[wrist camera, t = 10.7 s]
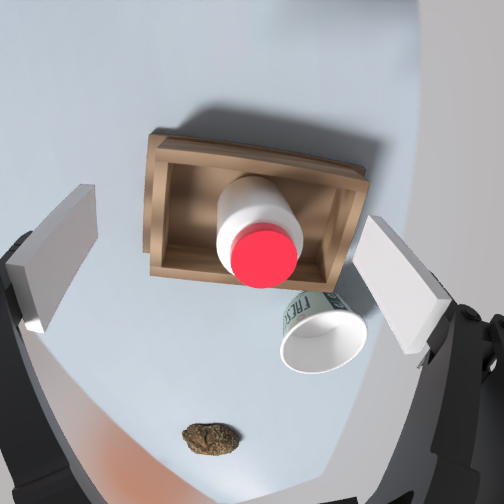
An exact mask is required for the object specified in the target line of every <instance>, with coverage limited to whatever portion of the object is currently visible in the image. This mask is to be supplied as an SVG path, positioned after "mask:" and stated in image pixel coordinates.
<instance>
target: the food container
mask: <svg viewBox="0 0 504 504" xmlns="http://www.w3.org/2000/svg"><path fill="white" fill-rule="evenodd" d="M367 336H368V328H367V325H366V323H365V321H364V320H363V318H362V317H361V316H359V315H358V314H356V313H354V312H353V311H352V310H351V308H350V307H349V306H348V305H347V304H346V303H345V301H344V300H343V299H342V298H341V297H340V296H339V295H338V294H337V293H336V292H334V291H333V293H330V292H316V291H306V292H304V293H302V294H300V295H298V296H297V297H295V298H294V299H293V300H292V301H291V302H290V303H289V304H288V306H287V307H286V309H285V311H284V315H283V341H282V344H281V348H280V354H281V358H282V360H283V362H284V363H285V364H286V365H287V366H288V367H289V368H291V369H292V370H295V371H297V372H301V373H307V374H317V373H323V372H328V371H331V370H334V369H336V368H339V367H341V366H343V365H344V364H346V363H348V362H349V361H350V360H352V359H353V358H354V357H355V356H356V355H357V354H358V353H359V352H360V351H361V349H362V348H363V346H364V345H365V342H366V340H367Z"/></svg>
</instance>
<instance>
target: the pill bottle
mask: <svg viewBox="0 0 504 504" xmlns="http://www.w3.org/2000/svg"><path fill="white" fill-rule="evenodd" d="M216 246H217V253H218V256H219V259H220V261H221V263H222V264H223V266H224V267H225V268H226V269H227V270H228V271H229V272H230V273H232V274H233V275H234V276H235V277H236V278H237V279H238V280H239V281H240V282H242V283H243V284H245V285H247V286H250V287H253V288H270V287H274V286H276V285H279V284H281V283H282V282H284V281H285V280H286V279H287V278H289V277H290V275H291V274H292V273H293V271H294V269H295V267H296V264H297V261H298V259H299V257H300V255H301V252H302V248H303V233H302V229H301V227H300V224H299V222H298V220H297V218H296V216H295V214H294V213H293V211H292V209H291V207H290V205H289V203H288V201H287V199H286V198H285V196H284V194H283V192H282V191H281V189H280V188H279V187H278V186H277V185H276V184H275V183H274V182H272V181H270V180H269V179H266V178H263V177H259V176H246V177H242V178H239V179H237V180H235V181H233V182H232V183H230V184H229V185H228V186H227V187H226V188H225V189H224V190H223V192H222V193H221V195H220V197H219V200H218V203H217V224H216Z"/></svg>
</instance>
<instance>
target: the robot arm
mask: <svg viewBox="0 0 504 504" xmlns="http://www.w3.org/2000/svg"><path fill="white" fill-rule="evenodd" d="M97 238H98V231H97V217H96V199H95V185H89V184H80V185H79V186H78V187H77V188H76V189H75V190H74V191H73V192H72V193H70V194H69V195H68V196H67V197H66V198H65V199H64V200H63V201H62V202H61V203H60V204H59V205H58V206H57V207H56V208H55V209H54V210H53V211H52V212H51V213H50V214H49V215H48V216H47V217H46V218H45V219H44V220H43V222H42V223H41V224H40V225H39V226H38V227H37V228H36V229H35V230H34V231H29V232H27V233H26V234H24V235H22V236H21V237H20V238H19V239H18V240H17V241H16V242H15V243H14V245H12V246H11V248H10V249H9V251H7V252H6V253H5V254H4V255H3V257H2V258H1V259H0V449H1V452H2V454H3V457H4V460H5V462H6V465H7V466H8V469H9V472H10V474H11V476H12V479H13V482H14V486H15V487H14V489H13V490H12V495H13V499H14V502H15V504H107V502H106V501H105V500H104V498H103V497H102V496H101V494H100V493H99V492H98V490H97V489H96V487H95V486H94V484H93V483H92V481H91V480H90V478H89V477H88V475H87V473H86V472H85V470H84V469H83V467H82V465H81V464H80V462H79V460H78V459H77V457H76V455H75V454H74V452H73V450H72V448H71V447H70V445H69V443H68V441H67V439H66V438H65V436H64V434H63V432H62V430H61V428H60V426H59V424H58V423H57V421H56V418H55V416H54V414H53V412H52V410H51V408H50V406H49V404H48V401H47V399H46V397H45V395H44V393H43V390H42V388H41V386H40V383H39V381H38V378H37V376H36V373H35V371H34V368H33V366H32V363H31V360H30V358H29V356H28V352H27V349H26V347H25V344H24V341H23V338H22V335H21V332H20V329H19V327H18V324H19V322H20V321H21V319H22V317H23V320H24V323H25V325H26V328H27V329H28V330H31V331H35V332H40V333H45V332H46V329H47V327H48V325H49V323H50V321H51V319H52V317H53V315H54V313H55V312H56V310H57V308H58V306H59V304H60V302H61V300H62V298H63V296H64V295H65V293H66V291H67V289H68V287H69V285H70V284H71V282H72V280H73V278H74V277H75V275H76V273H77V271H78V270H79V268H80V266H81V264H82V263H83V261H84V259H85V258H86V256H87V254H88V253H89V251H90V249H91V248H92V246H93V245H94V243H95V241H96V240H97ZM352 262H353V263H354V265H355V267H356V268H357V270H358V272H359V273H360V275H361V277H362V278H363V280H364V282H365V283H366V285H367V287H368V289H369V290H370V292H371V294H372V295H373V297H374V299H375V301H376V302H377V304H378V306H379V308H380V309H381V311H382V313H383V315H384V317H385V318H386V320H387V322H388V324H389V326H390V328H391V329H392V331H393V333H394V335H395V337H396V339H397V341H398V342H399V344H400V346H401V348H402V350H403V352H404V354H413V353H419V352H420V351H421V349H422V348H423V346H424V345H425V343H426V342H427V343H428V345H429V347H430V349H429V351H428V352H427V354H426V355H425V357H424V358H423V359H422V361H421V362H420V364H419V365H418V367H417V368H418V369H419V368H420V367H421V366H423V367H422V371H421V375H420V378H419V382H418V385H417V388H416V391H415V395H414V398H413V401H412V404H411V407H410V410H409V413H408V416H407V419H406V422H405V424H404V427H403V430H402V432H401V435H400V438H399V441H398V443H397V446H396V448H395V450H394V453H393V456H392V458H391V460H390V462H389V465H388V467H387V469H386V471H385V474H384V476H383V478H382V480H381V483H380V484H379V486H378V488H377V490H376V491H375V493H374V494H373V495H372V496H371V497H370V498H369V499H368V501H367V502H366V503H365V504H504V316H502V315H500V314H495V315H494V317H493V318H492V320H491V321H490V323H487V322H484V321H482V319H481V317H480V315H479V314H478V313H477V312H476V311H475V310H474V309H472V308H471V307H469V306H467V305H464V304H459V305H457V303H456V302H455V301H454V299H453V298H452V297H451V295H450V294H449V293H448V292H447V290H446V289H445V288H443V285H442V284H441V283H440V282H438V279H437V278H436V277H435V276H434V274H433V273H431V272H430V271H429V270H428V269H427V268H426V267H425V266H424V264H423V263H422V262H421V261H420V260H419V258H418V257H417V256H416V255H415V254H414V253H413V251H412V250H411V249H410V248H409V247H408V246H407V245H406V244H405V242H404V241H403V240H402V239H401V238H400V237H399V236H398V235H397V234H396V232H395V231H394V230H393V229H392V228H391V227H390V226H389V225H388V224H387V223H386V222H385V221H384V219H383V218H382V217H379V216H373V215H368V217H367V220H366V223H365V226H364V229H363V232H362V235H361V238H360V241H359V243H358V246H357V249H356V252H355V255H354V258H353V260H352ZM496 359H497V362H496V366H495V368H494V370H493V371H491V370H490V366H491V365H492V364H493V362H494V361H495V360H496ZM320 504H358V502H357V497H352V498H348V499H343V500H338V501H332V502H327V503H320Z"/></svg>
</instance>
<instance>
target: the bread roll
mask: <svg viewBox="0 0 504 504" xmlns="http://www.w3.org/2000/svg"><path fill="white" fill-rule="evenodd" d="M182 436H183V440H185V441H186V442H187V445H188V447H189V448H190V449H191V450H192V451H193V452H195V453H196V454H204V455H213V456H219V455H222V454H227V453H231V452H232V451H234V450H235V449H236V448H237V447H238V445H239V438H238V436H237V435H236V434H235V432H234V431H232V430H230V429H228V428H227V427H226V426H224V425H220V424H215V425H208V426H203V425H200V424H192V425H190V426H189V427H188V428H187V430H186V431H183V432H182Z"/></svg>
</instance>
